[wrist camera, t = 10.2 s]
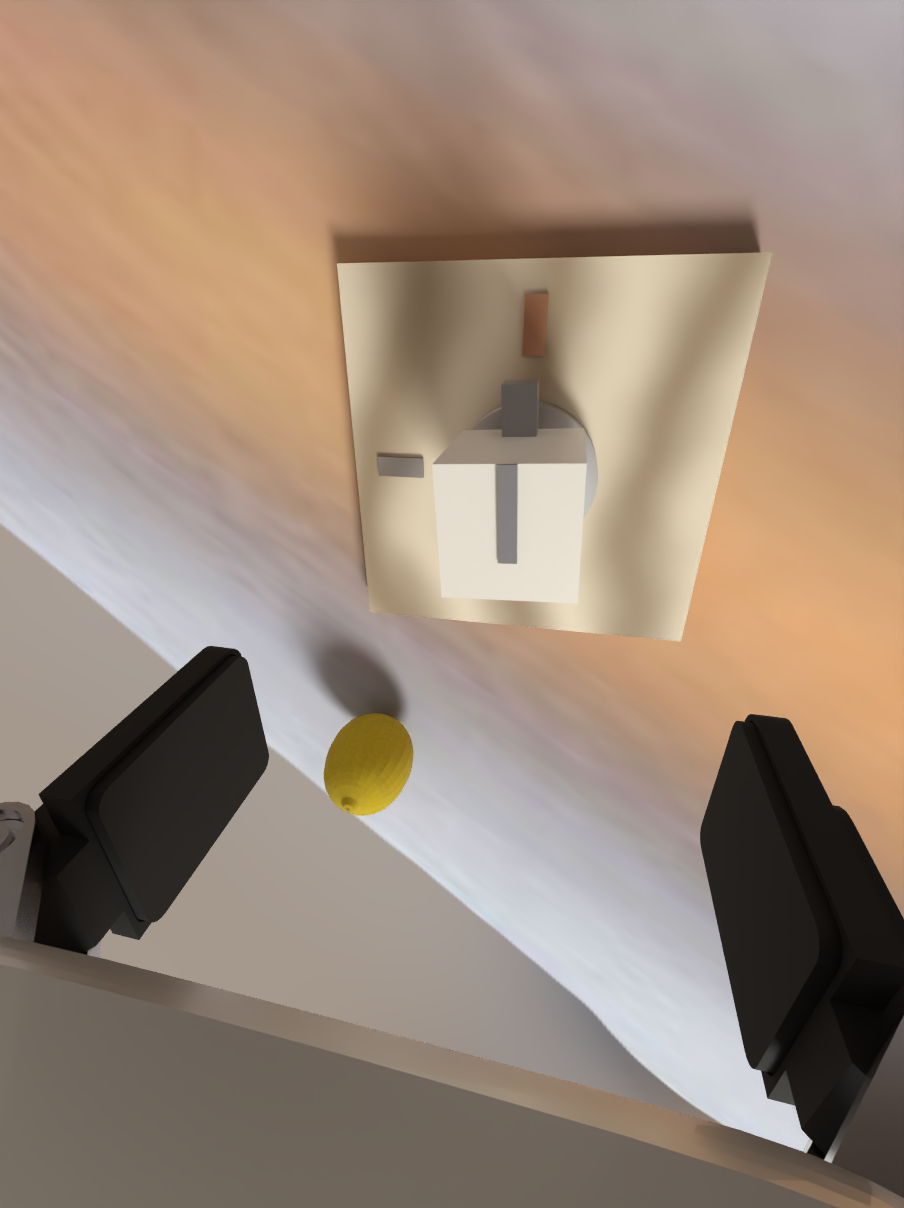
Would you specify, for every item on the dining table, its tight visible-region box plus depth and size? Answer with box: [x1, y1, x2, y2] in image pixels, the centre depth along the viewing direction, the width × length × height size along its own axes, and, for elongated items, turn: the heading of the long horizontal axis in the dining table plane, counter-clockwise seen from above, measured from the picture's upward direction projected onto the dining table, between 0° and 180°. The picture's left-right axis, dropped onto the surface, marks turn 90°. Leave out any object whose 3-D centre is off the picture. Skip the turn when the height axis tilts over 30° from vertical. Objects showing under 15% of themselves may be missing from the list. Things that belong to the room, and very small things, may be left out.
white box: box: [432, 379, 587, 604], centre depth 21 cm, size 7×5×6 cm
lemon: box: [324, 713, 413, 816], centre depth 35 cm, size 6×6×8 cm
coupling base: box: [337, 252, 773, 641], centre depth 26 cm, size 18×18×4 cm
